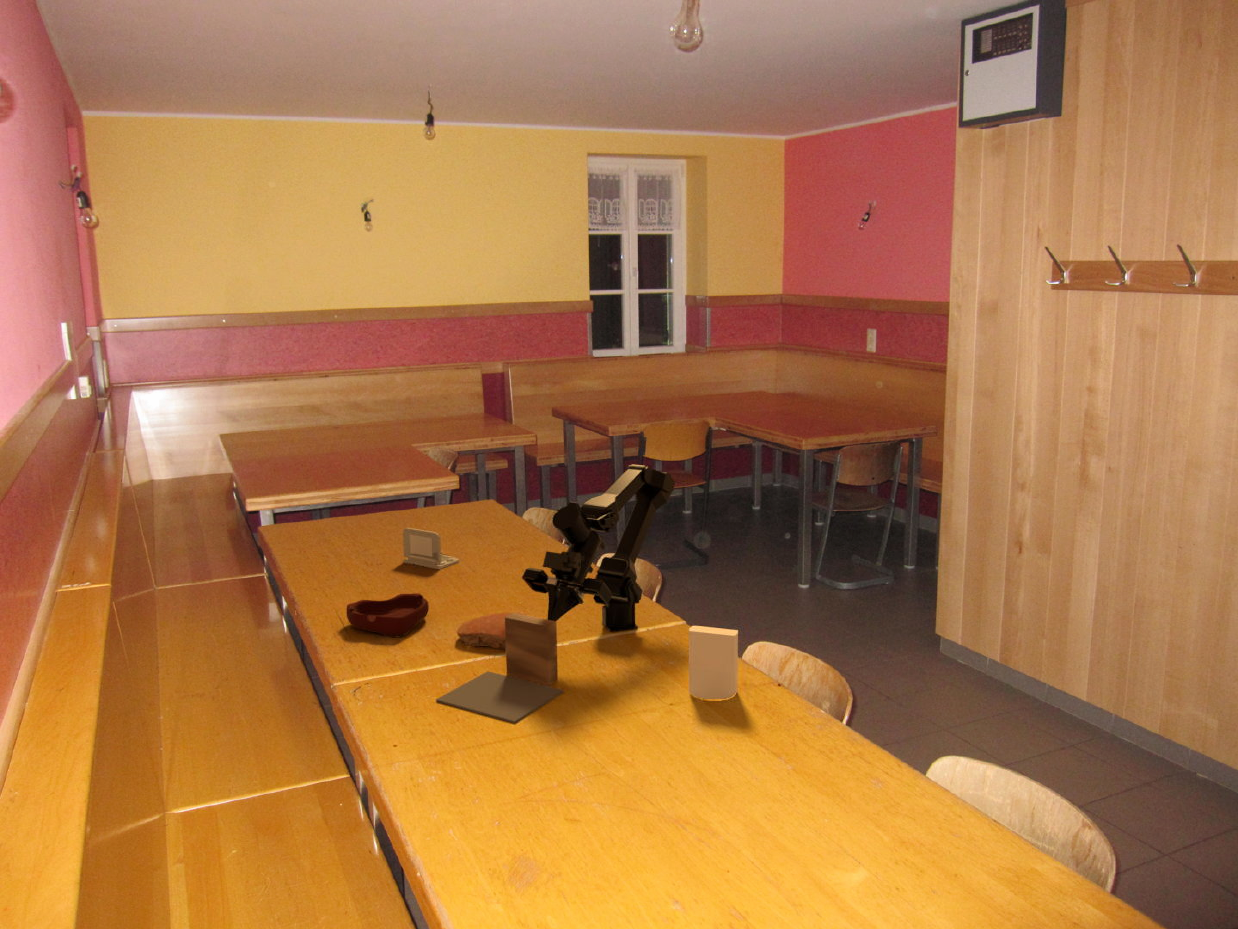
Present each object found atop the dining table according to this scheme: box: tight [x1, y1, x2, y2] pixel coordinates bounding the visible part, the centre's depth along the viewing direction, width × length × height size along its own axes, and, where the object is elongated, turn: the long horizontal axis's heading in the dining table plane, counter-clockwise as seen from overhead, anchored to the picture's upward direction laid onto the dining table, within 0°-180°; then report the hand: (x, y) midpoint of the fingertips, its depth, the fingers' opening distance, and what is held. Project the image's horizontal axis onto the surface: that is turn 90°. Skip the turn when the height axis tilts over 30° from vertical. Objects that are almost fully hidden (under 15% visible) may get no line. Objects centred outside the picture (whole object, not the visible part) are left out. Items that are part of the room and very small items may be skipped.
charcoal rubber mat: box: [435, 670, 564, 724], centre depth 180 cm, size 15×18×1 cm
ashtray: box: [346, 592, 430, 637], centre depth 216 cm, size 18×16×5 cm
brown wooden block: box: [505, 612, 559, 687], centre depth 187 cm, size 3×10×12 cm, turn 59°
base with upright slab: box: [688, 625, 739, 700], centre depth 180 cm, size 9×9×12 cm
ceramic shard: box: [456, 612, 529, 651], centre depth 210 cm, size 15×6×15 cm
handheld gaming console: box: [402, 527, 460, 570], centre depth 266 cm, size 13×9×10 cm
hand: (549, 622), depth 191 cm, fingers closed
